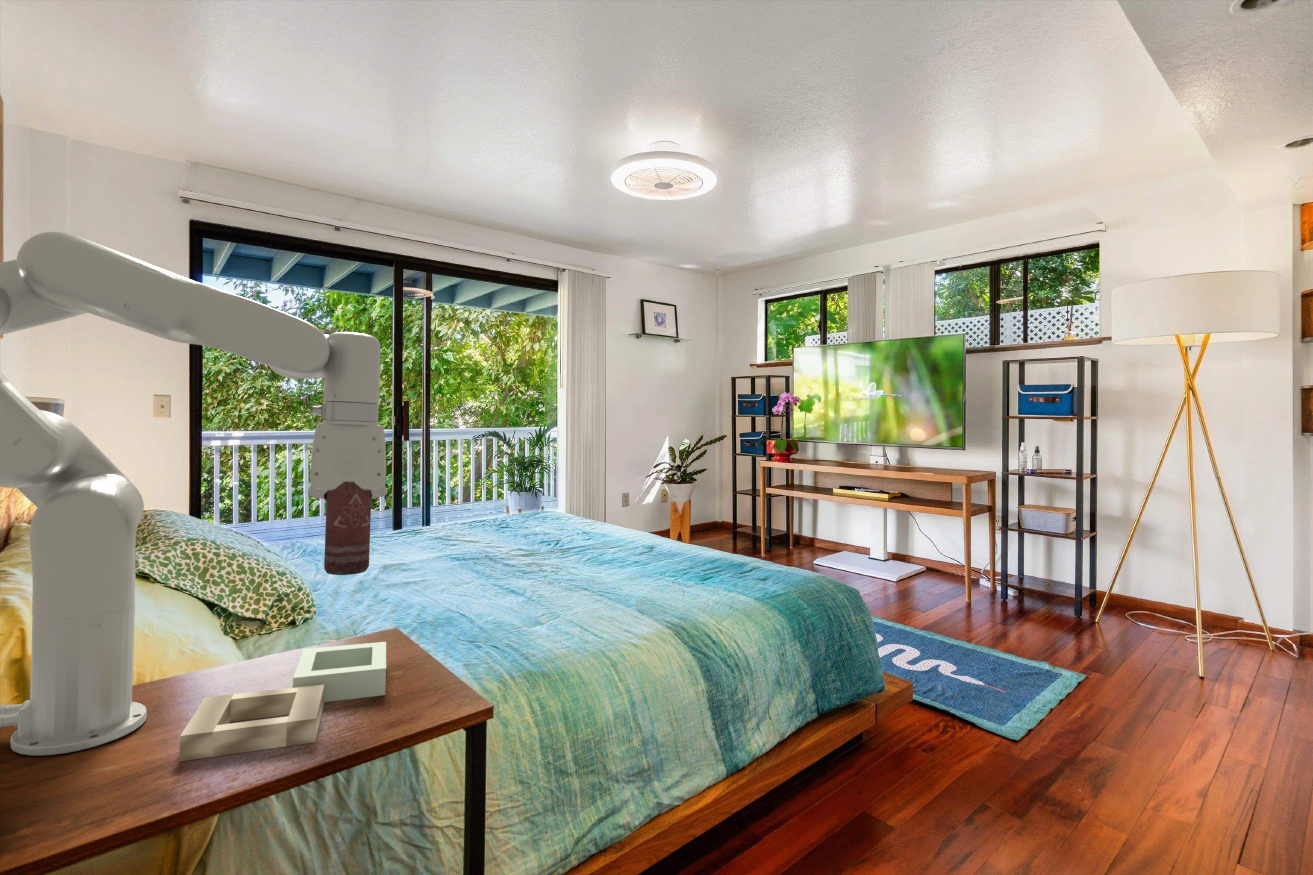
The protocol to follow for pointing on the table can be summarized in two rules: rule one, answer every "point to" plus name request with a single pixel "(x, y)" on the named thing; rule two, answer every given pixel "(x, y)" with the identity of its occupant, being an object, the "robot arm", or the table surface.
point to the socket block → (253, 722)
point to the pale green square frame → (344, 670)
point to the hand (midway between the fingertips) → (347, 535)
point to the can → (347, 529)
